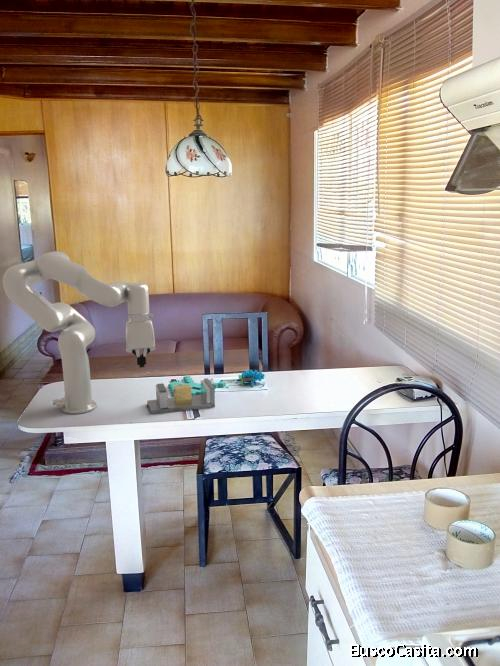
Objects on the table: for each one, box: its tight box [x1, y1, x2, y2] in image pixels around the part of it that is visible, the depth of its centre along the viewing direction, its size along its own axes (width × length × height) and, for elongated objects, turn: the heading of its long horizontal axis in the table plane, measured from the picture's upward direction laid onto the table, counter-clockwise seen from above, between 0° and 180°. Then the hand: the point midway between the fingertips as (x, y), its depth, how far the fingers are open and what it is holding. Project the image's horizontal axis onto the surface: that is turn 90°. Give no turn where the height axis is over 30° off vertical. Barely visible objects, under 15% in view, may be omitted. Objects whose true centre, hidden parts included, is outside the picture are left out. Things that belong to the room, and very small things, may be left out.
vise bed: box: [146, 377, 216, 415], centre depth 212 cm, size 24×11×8 cm, turn 108°
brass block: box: [173, 384, 192, 404], centre depth 212 cm, size 6×4×6 cm, turn 108°
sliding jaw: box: [155, 382, 169, 409], centre depth 210 cm, size 3×10×7 cm, turn 18°
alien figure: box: [167, 375, 227, 397], centre depth 231 cm, size 20×2×20 cm
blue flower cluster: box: [238, 369, 265, 387], centre depth 235 cm, size 11×6×10 cm
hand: (141, 366), depth 205 cm, fingers closed
